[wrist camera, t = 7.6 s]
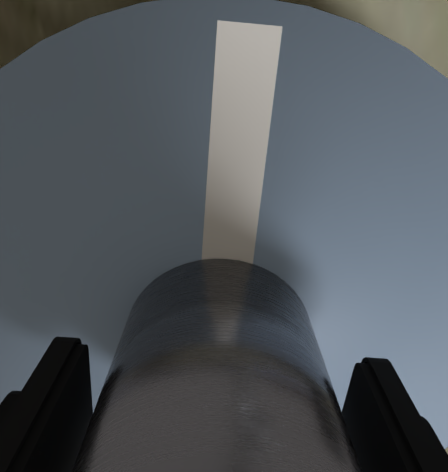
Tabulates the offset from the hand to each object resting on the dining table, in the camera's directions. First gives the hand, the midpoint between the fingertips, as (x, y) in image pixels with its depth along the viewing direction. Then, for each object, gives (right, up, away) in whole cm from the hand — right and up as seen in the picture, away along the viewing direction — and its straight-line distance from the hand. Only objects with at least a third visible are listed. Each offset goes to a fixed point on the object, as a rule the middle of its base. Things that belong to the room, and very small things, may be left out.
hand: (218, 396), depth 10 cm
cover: (0, +1, +2) cm, 2 cm away
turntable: (0, +1, +3) cm, 4 cm away
